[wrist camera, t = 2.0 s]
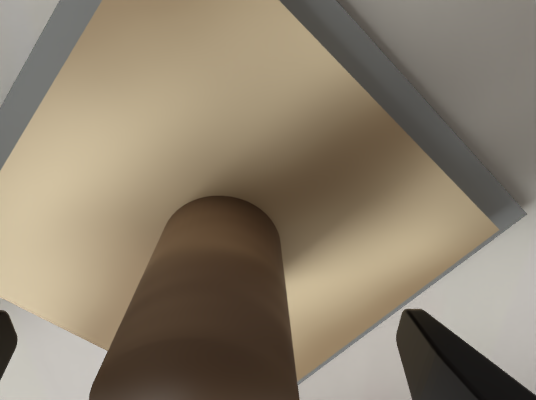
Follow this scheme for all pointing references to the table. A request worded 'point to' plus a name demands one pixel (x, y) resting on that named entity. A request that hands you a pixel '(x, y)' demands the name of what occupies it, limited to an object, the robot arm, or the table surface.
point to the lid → (218, 203)
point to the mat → (344, 51)
